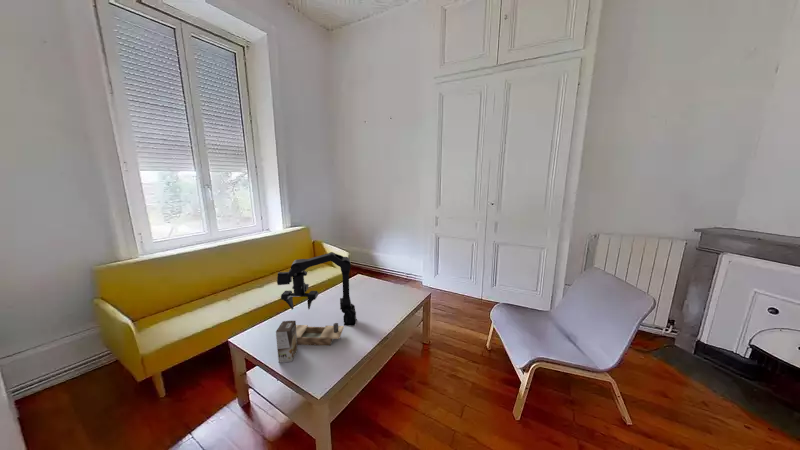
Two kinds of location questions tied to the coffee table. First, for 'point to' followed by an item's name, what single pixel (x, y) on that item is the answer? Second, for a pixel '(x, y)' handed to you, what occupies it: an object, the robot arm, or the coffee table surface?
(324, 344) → the walnut box
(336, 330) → the lid
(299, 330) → the lid
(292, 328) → the coffee box
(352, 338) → the coffee table surface
